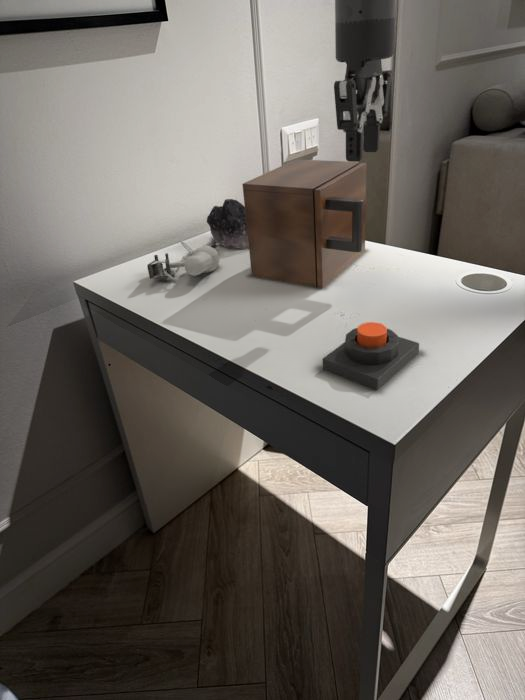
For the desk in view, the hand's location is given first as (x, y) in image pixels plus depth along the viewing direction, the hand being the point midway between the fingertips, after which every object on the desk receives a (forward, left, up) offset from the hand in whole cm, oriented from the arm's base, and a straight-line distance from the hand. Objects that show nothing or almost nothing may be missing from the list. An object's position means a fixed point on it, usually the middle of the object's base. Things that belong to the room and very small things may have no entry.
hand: (362, 155), depth 74 cm
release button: (+3, +22, -18) cm, 29 cm away
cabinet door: (-1, -7, -21) cm, 23 cm away
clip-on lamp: (+29, -16, -22) cm, 40 cm away
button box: (+3, +22, -22) cm, 31 cm away
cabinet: (+7, -13, -22) cm, 26 cm away
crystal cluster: (+19, -31, -22) cm, 43 cm away
